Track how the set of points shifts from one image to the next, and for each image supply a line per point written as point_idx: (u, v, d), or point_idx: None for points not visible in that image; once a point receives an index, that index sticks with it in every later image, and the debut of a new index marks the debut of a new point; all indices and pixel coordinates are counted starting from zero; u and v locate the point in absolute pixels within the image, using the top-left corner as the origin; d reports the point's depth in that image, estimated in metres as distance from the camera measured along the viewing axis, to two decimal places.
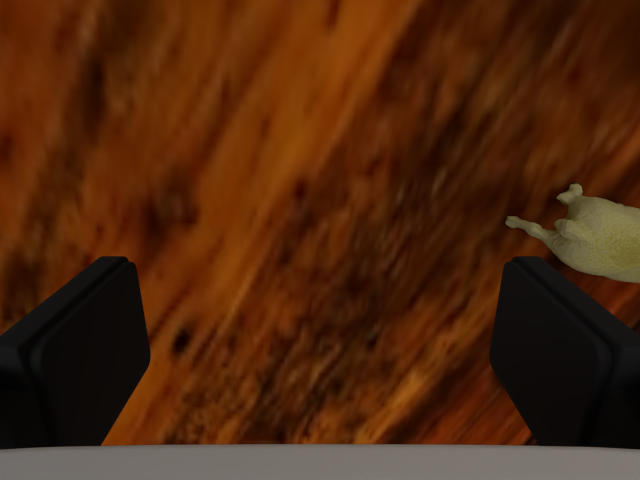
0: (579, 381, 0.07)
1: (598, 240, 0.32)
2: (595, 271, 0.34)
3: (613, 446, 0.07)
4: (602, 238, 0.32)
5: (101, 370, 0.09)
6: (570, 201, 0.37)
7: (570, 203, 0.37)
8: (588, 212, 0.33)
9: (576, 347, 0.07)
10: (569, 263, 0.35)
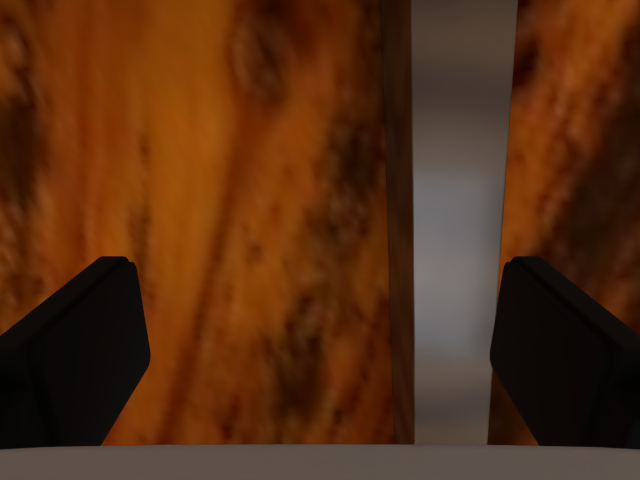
0: (579, 381, 0.07)
1: None
2: None
3: (613, 446, 0.07)
4: None
5: (101, 370, 0.09)
6: None
7: None
8: None
9: (576, 347, 0.07)
10: None
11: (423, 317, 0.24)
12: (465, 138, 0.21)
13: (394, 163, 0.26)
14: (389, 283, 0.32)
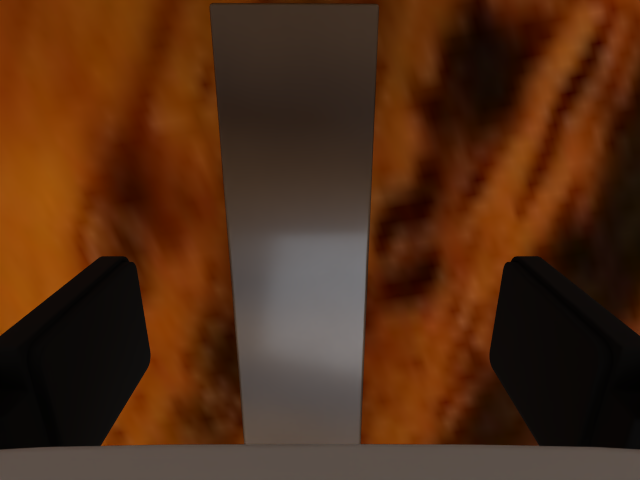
0: (579, 381, 0.07)
1: None
2: None
3: (613, 446, 0.07)
4: None
5: (101, 370, 0.09)
6: None
7: None
8: None
9: (576, 347, 0.07)
10: None
11: None
12: (308, 434, 0.17)
13: None
14: None
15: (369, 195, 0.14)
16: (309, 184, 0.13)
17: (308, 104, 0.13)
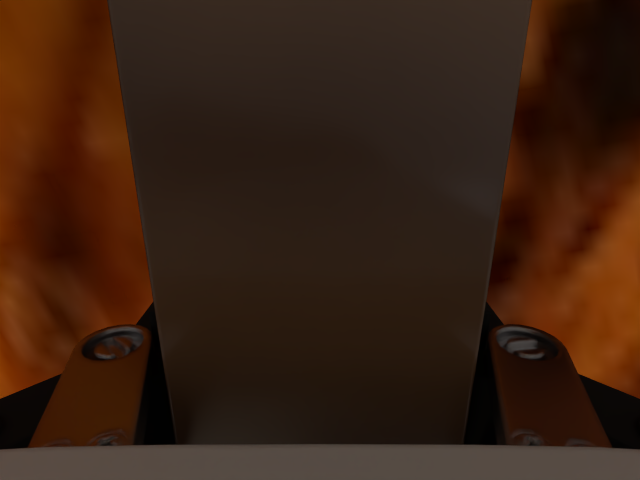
0: None
1: None
2: None
3: None
4: None
5: None
6: None
7: None
8: None
9: None
10: None
11: None
12: None
13: None
14: None
15: (479, 328, 0.06)
16: (346, 307, 0.06)
17: (349, 129, 0.05)
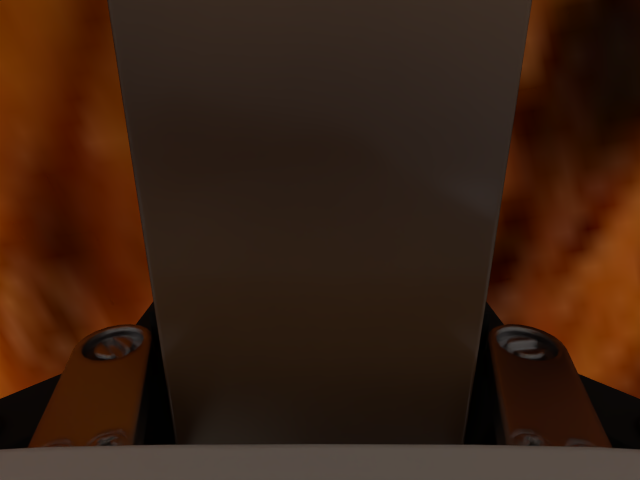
0: None
1: None
2: None
3: None
4: None
5: None
6: None
7: None
8: None
9: None
10: None
11: None
12: None
13: None
14: None
15: (479, 328, 0.06)
16: (346, 307, 0.06)
17: (348, 129, 0.05)
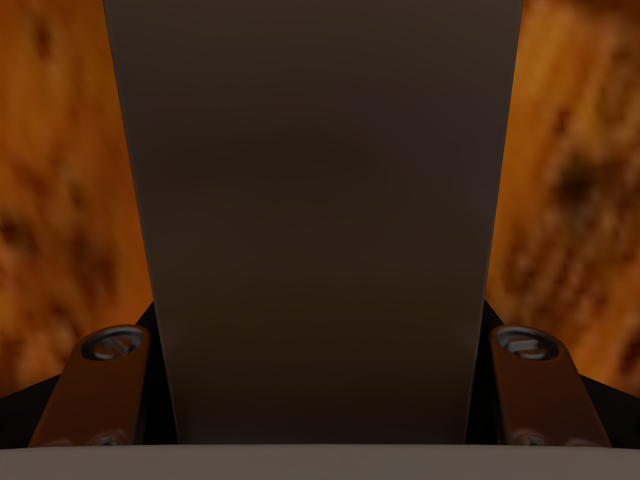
0: None
1: None
2: None
3: None
4: None
5: None
6: None
7: None
8: None
9: None
10: None
11: None
12: None
13: None
14: None
15: (479, 322, 0.06)
16: (345, 303, 0.06)
17: (344, 124, 0.05)
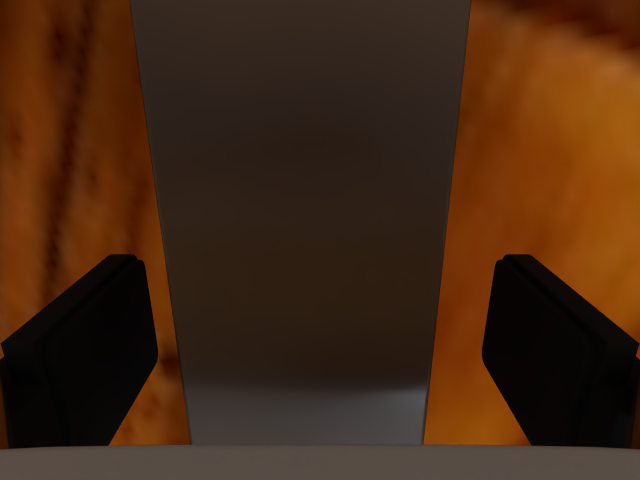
0: (566, 376, 0.07)
1: None
2: None
3: (598, 440, 0.07)
4: None
5: (112, 366, 0.09)
6: None
7: None
8: None
9: (563, 343, 0.07)
10: None
11: None
12: None
13: None
14: None
15: (438, 285, 0.07)
16: (326, 267, 0.07)
17: (325, 116, 0.06)
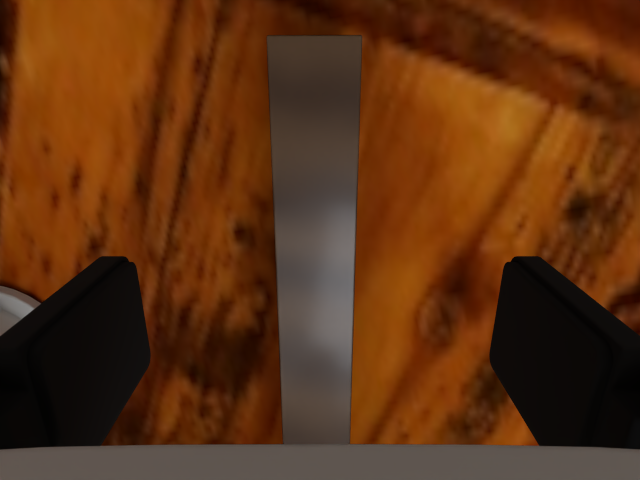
0: (579, 381, 0.07)
1: None
2: None
3: (613, 446, 0.07)
4: None
5: (101, 370, 0.09)
6: None
7: None
8: None
9: (576, 347, 0.07)
10: None
11: (290, 432, 0.30)
12: (320, 309, 0.26)
13: None
14: None
15: (357, 147, 0.23)
16: (321, 141, 0.23)
17: (321, 92, 0.22)
